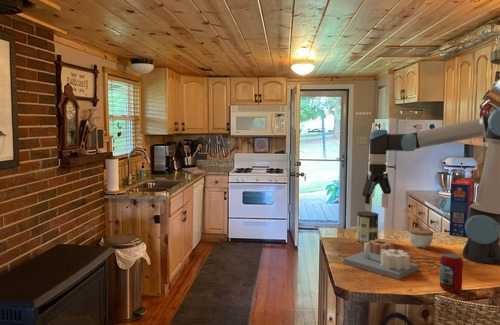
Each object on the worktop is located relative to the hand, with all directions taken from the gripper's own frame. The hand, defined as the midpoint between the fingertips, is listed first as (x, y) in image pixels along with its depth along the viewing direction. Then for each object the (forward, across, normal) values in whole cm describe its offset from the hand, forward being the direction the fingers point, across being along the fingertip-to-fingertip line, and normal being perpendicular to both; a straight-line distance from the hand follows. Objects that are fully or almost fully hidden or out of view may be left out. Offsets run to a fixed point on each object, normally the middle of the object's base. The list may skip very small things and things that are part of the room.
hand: (376, 209), depth 175 cm
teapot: (+19, -124, -15) cm, 126 cm away
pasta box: (+19, -69, +11) cm, 72 cm away
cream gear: (+17, +19, +20) cm, 32 cm away
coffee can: (+19, -10, -11) cm, 24 cm away
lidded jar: (+19, -22, +11) cm, 31 cm away
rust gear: (+19, +4, +4) cm, 20 cm away
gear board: (+19, +19, +14) cm, 30 cm away
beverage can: (+19, +21, +42) cm, 51 cm away
